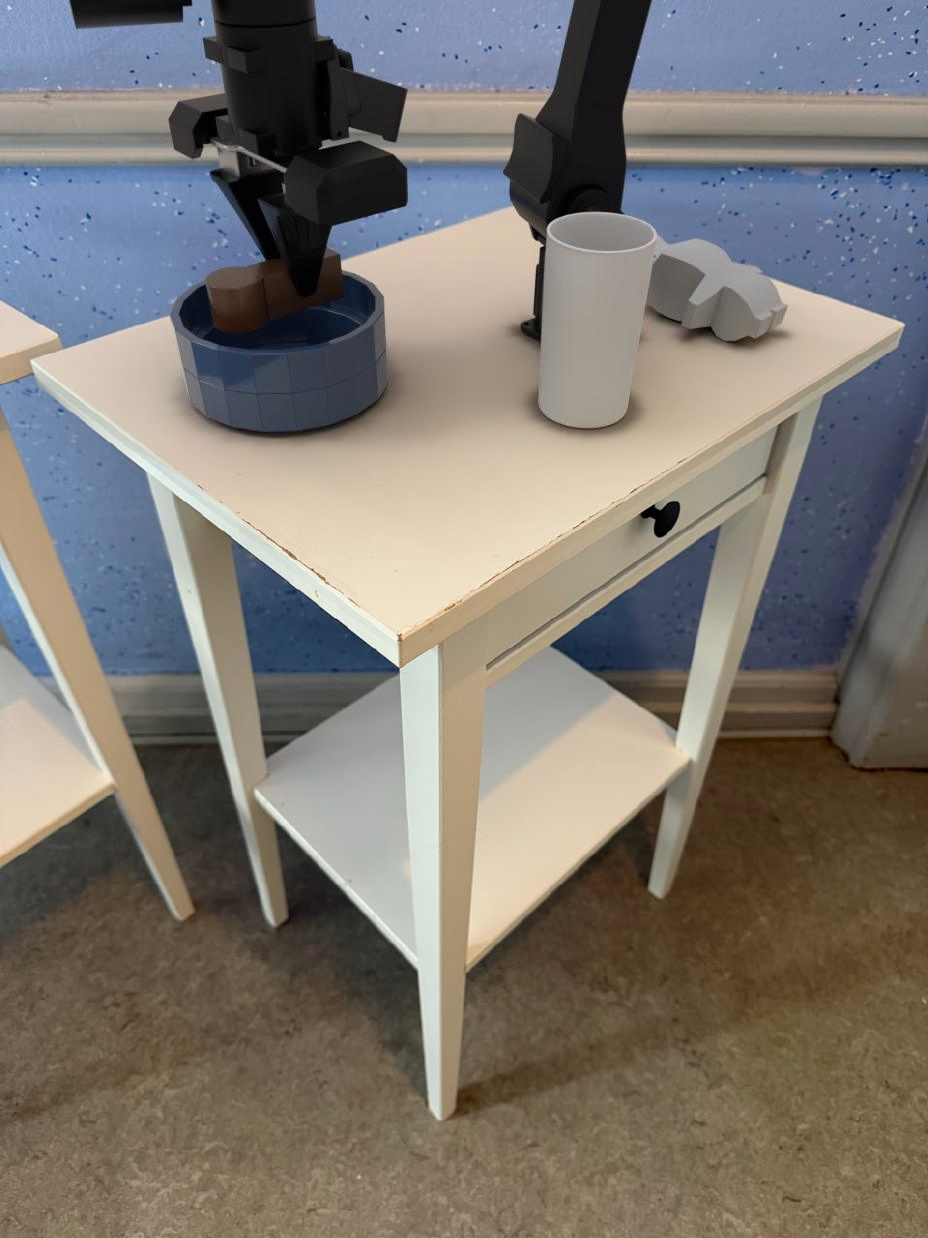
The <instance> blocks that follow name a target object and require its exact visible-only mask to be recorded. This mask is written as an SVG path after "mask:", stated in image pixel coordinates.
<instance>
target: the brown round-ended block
mask: <svg viewBox="0 0 928 1238" xmlns="http://www.w3.org/2000/svg"><path fill="white" fill-rule="evenodd" d="M342 270H343V269H342V258H341V254H340V253H339V252H337V251H335V250H334V249H331V248H330V247H328V246H327V247H326V251H325V255H324V259H323V264H322V268H321V272H320V277H319V281H318V285H317V290H316V293H315V294H314V295H311V296H308V297H302V296H300V295H299V294H298V292H297V289H296V287H295V285H294V283H293V281H292V279H291V277H290V275H289V272H288V270H287V268H286V265H285V263H284V261H283V258H282V256H281V257H277V258H274V259H270V260H267V261H266V260H263V261H260V262H257V263H253V264H249V265H247V266H242V265H241V266H239V265H235V266H226V267H221V268H218V269H216V270H213V271H211V272H210V273H209V274H207V275H206V276H205V279H204V280H205V282H206V288H207V293H208V298H209V303H210V309H211V314H212V319H213V324H214V326H215V327H216V328H217V329H218V330H220V331H223V332H227V333H247V332H252V331H255V330H258V329H260V328H262V327H263V326H265V325H266V324H267V322H268V320H273V319H276V318H279V317H282V316H285V315H288V314H292V313H295V312H298V311H301V310H304V309H307V308H310V307H314V306H317V305H320V304H323V303H326V302H329V301H332V300H336V299H339V298H342V297H344V291H343V280H342Z"/></svg>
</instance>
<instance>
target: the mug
mask: <svg viewBox="0 0 928 1238" xmlns="http://www.w3.org/2000/svg"><path fill="white" fill-rule="evenodd" d="M657 234H658V232H657V230H656V229H655V227H653V226H652V225H651V224H650V223H648V222H647V221H644V220H642V219H640V218H637V217H634V216H631V215H626V214H625V215H622V214H616V213H607V212H584V213H575V214H570V215H566V216H562V217H560V218H557V219H555V220H553V221H552V222H551V223H550V224H549V225H548V227H547V240H546V253H545V271H544V292H543V313H542V334H541V341H540V352H539V353H540V354H539V376H538V397H537V398H538V400H537V403H538V407H539V410H540V411H541V412H542V414H543V415H544V416H545V417H546V418H548V419H550V420H551V421H553V422H555V423H557V424H559V425H563V426H567V427H570V428H571V427H572V428H578V429H597V428H603V427H607V426H610V425H614V424H615V423H618V422H619V421H620V420H621V419H623V418H624V417H625V415H626V413H627V411H628V407H629V401H630V395H631V390H632V386H633V385H632V384H633V379H634V374H635V368H636V363H637V362H636V361H637V357H638V352H639V344H640V339H641V334H642V328H643V322H644V316H645V310H646V304H647V294H648V288H649V283H650V277H651V271H652V265H653V260H654V251H655V244H656V239H657Z"/></svg>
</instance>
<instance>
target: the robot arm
mask: <svg viewBox="0 0 928 1238" xmlns="http://www.w3.org/2000/svg"><path fill="white" fill-rule="evenodd" d="M652 3H653V0H573V4H572V9H571V13H570V16H569V17H570V18H569V22H568V26H567V31H566V35H565V40H564V44H563V47H562V48H563V49H562V52H561V57H560V61H559V66H558V70H557V74H556V79H555V83H554V86H553V89H552V92H551V94H550V96H549V98H548V99H547V100H546V101H545V103H544V105H543V106H542V107H541V109H540V110H539V112H538V113H537V115H536V117H532V116H529V115H528V114H524V113H522V112H520V113H518V114H517V116H516V120H515V123H514V127H513V128H514V131H513V143H512V150H511V153H510V156H509V160H508V162H507V164H506V165H505V167H504V168H503V170H502V174H503V175H504V176H505V177H507V179H508V180H509V186H508V187H509V188H508V194H509V200H510V202H511V204H512V206H513V208H514V210H515V211H516V213H517V214H518V216H519V217H520V218H522V220H524V221H525V222H526V223H528V227H529V230H530V233H531V238H532V239H533V240H534V241H536V242H539V243H540V244H541V245H542V246H540V247H539V253H538V257H539V258H538V263H537V264H536V266H535V275H534V293H533V309H532V315H533V316H534V317H533V318H530V319H527V320H524V321H522V322H520V325H519V326H520V331H521V332H523V333H525V334H527V335H529V336H531V337H533V338H535V339H537V340H539V341H540V342H541V334H542V313H543V292H544V271H545V253H546V240H547V227H548V225H549V224H550V223H551V222H552V221H553V220H555V219H557V218H560V217H562V216H566V215H570V214H575V213H584V212H607V213H616V214H622V215H626V214H625V213H624V212H623V211H622V205H623V199H624V191H625V184H626V176H627V170H628V157H627V145H626V137H625V136H626V135H625V126H624V108H625V103H626V99H627V96H628V93H629V92H628V90H629V88H630V85H631V81H632V77H633V73H634V71H635V66H636V61H637V59H638V55H639V50H640V48H641V43H642V39H643V37H644V32H645V28H646V25H647V23H648V22H647V21H648V17H649V14H650V11H651V7H652ZM210 4H211V11H212V18H213V27H214V31H215V35H212V36H204V37H202V45H203V51H204V56H205V59H207V60H210V61H213V62H215V63H218V64H219V65H220V71H221V77H222V83H223V84H222V85H223V91H224V92H223V93H218V94H212V95H205V96H200V97H195V98H189V99H183V100H178V101H177V102H176V105H175V106H174V108H173V110H172V111H171V113H170V115H169V117H168V119H167V120H168V126H169V131H170V135H171V136H170V137H171V141H172V146H173V150H174V151H176V152H178V153H179V154H182V155H184V156H185V157H188V158H189V159H191V160H194V159H199V158H201V156H202V154H203V151H204V148H205V146H204V145H210V144H211V146H214V147H216V150H217V157H218V163H219V164H218V165H219V168H215V169H212V170H210V171H209V176H210V179H211V181H212V182H213V183H215V184H216V185H217V186H218V188H219V189H220V191H221V192H222V194H223V196H224V197H225V198H226V200H227V201H228V203H229V205H230V206H231V207H232V209H233V211H234V212H235V214H236V215H237V217H238V218H239V220H240V222H241V223H242V225H243V227H244V228H245V229H246V231H247V232H248V234H249V236H250V237H251V239H252V240H253V242H254V243H255V246H256V247H257V249H258V250H259V252H260V254H261V256H262V257H263V259H264V261H267V260H270V259H274V258H277V257H281V256H282V258H283V261H284V263H285V265H286V268H287V270H288V272H289V275H290V277H291V279H292V281H293V283H294V285H295V287H296V289H297V292H298V294H299V295H300V296H302V297H308V296H311V295H314V294H315V293H316V290H317V285H318V281H319V277H320V272H321V268H322V264H323V259H324V255H325V251H326V247H328V246H327V245H328V242H329V238H330V235H331V232H332V228H333V227H334V226H335V227H336V226H338V225H341V224H346V223H350V222H353V221H357V220H361V219H364V218H367V217H372V216H376V215H379V214H383V213H386V212H390V211H393V210H397V209H401V208H405V207H407V205H408V203H409V181H408V167H407V166H406V165H405V164H403V162H402V161H401V160H400V159H399V158H398V157H397V155H395V153H392V152H391V151H387V150H384V149H382V148H380V147H378V146H375V145H372V144H370V143H368V142H365V141H362V140H360V139H359V140H354V141H350V142H346V143H341V144H337V145H332V146H328V147H327V146H326V147H324V146H323V144H324V143H323V142H324V141H328V140H330V141H332V142H337V141H341V140H346V139H349V138H350V129H354V130H356V131H357V130H358V131H362V132H366V133H369V134H373V135H377V136H380V137H381V138H382V139H383V140H384V141H385V142H389V143H394V144H396V143H397V142H398V137H399V134H400V133H399V132H400V129H401V124H402V118H403V115H404V110H405V105H406V101H407V95H408V91H409V89H408V88H406V87H403V86H400V85H397V84H394V83H391V82H388V81H386V80H382V79H380V78H376V77H373V76H370V75H368V74H364V73H361V72H358V71H355V68H354V61H353V55H352V53H351V52H350V51H346V50H343V49H341V48H338V46H337V44H336V43H334V39H333V38H331V37H328V36H325V35H322V34H319V32H318V31H319V30H318V22H317V21H318V20H317V9H316V0H210ZM68 5H69V8H70V12H71V16H72V19H73V23H74V26H75V27H74V28H75V29H76V30H84V29H102V28H116V27H117V28H118V27H132V26H146V25H148V26H149V25H164V24H165V25H166V24H181V23H183V22H184V7H185V8H186V7H193V0H68Z"/></svg>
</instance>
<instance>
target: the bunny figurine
mask: <svg viewBox="0 0 928 1238" xmlns="http://www.w3.org/2000/svg"><path fill="white" fill-rule="evenodd" d="M763 273H764V271H762V270H761V269H760V268H759V267H758V266H756V265H751V264H743V263H738V262H735V261H732V259H731V258H730V256H729V255H728V253H727V252H726V251H725V250H724V249H722V248H721V247H719V246H718V245H717V244H715V243H712V242H710V241H708V240H705V239H700V238H697V237H695V238H692V239H688V240H684V241H680V242H676V243H672V244H668V243H667V242H666V241H665V240H664V238H663V237H662V236H661V235H659V234H658V233H657V239H656V244H655V251H654V258H653V265H652V271H651V277H650V283H649V288H648V294H647V300H646V302H647V305H649V307H651V308H652V309H654V310H655V311H656V312H658V313H659V314H660V315H661V314H662V315H663V316H664V317H667V318H669V319H672V320H675V321H678V322H681V324H680V327H683V328H685V329H689V330H692V329H700V328H707V327H709V328H710V327H711V329H712V331H713V332H714V334H715V336H716V337H718V338H719V339H721V340H722V341H723V342H724V341H726V342H735V341H738V340H740V339H743V338H746V337H751V338H753V339H758V338H759V337H761V336H762V335H764V334H766V333H767V331H768V330H773V329H775V328H776V327H778V326H779V325H781V324H782V323H783V320H784V318H785V315H786V312H787V310H788V307H789V305H788V304H786V303H784V302H783V301H782V298H781V296H780V293H779V291H778V287H777V286H776V285H775V284H774V282H773V281H772V280H771V278H769V277H767V276H765V275H763Z"/></svg>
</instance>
